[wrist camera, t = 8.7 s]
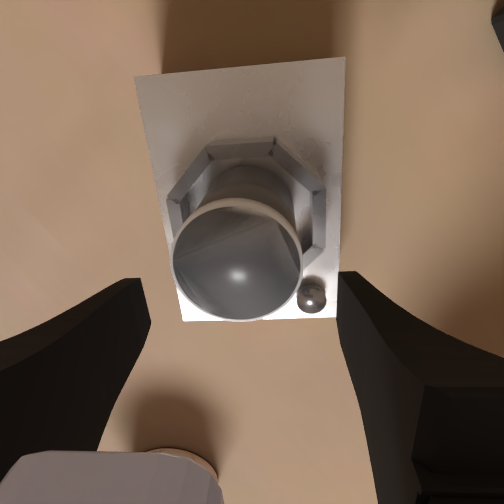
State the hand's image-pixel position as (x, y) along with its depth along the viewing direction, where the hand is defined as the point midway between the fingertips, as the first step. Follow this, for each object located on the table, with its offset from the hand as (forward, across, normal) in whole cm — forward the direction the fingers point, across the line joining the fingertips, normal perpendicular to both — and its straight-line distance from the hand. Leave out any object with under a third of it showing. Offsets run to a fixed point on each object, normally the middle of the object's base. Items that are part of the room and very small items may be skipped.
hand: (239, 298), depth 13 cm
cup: (+6, 0, -1) cm, 6 cm away
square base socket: (+10, 0, -1) cm, 10 cm away
